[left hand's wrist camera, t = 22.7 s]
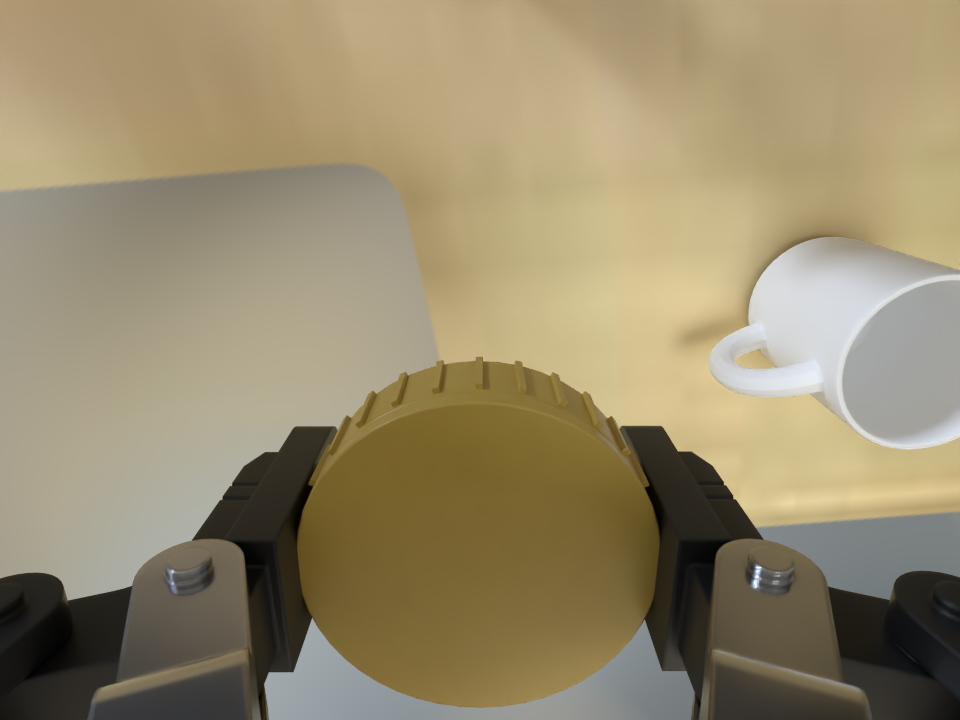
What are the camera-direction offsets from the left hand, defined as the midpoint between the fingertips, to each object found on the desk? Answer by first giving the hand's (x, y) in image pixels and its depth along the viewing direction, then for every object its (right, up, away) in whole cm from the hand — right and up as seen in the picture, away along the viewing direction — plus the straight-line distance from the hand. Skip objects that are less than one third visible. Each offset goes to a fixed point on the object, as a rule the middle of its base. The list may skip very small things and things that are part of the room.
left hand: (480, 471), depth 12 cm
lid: (0, -1, -2) cm, 3 cm away
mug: (+18, +5, +26) cm, 32 cm away
